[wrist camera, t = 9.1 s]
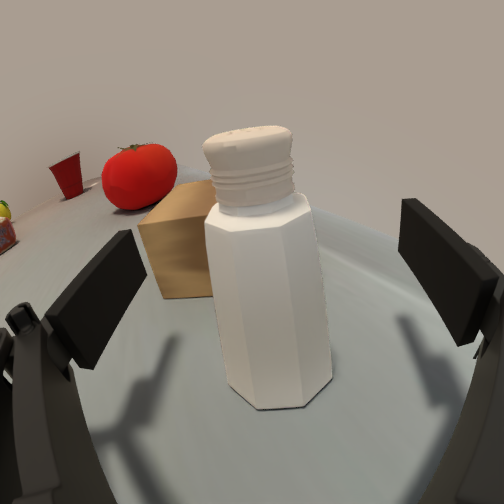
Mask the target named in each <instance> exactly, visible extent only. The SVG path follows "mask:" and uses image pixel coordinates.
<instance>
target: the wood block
mask: <svg viewBox="0 0 504 504" xmlns="http://www.w3.org/2000/svg"><path fill="white" fill-rule="evenodd" d="M212 182H213V181H212V180H211V179H210V180H204V181H197V182H191V183H186V184H180V185H177V186H176V187H175V188H174V189H173V190H172V191H171V192H170V193H169V194H168V195H167V196H166V197H165V198H164V199H163V200H162V201H161V202H160V203H158V204H157V205H156V206H155V207H154V208H153V209H152V210H151V211H150V212H149V213H148V214H147V216H146V217H145V218H144V219H143V220H142V221H141V222H140V223H139V224H138V225H137V226H138V229H139V232H140V235H141V238H142V241H143V244H144V247H145V250H146V253H147V256H148V259H149V262H150V264H151V267H152V270H153V273H154V275H155V278H156V281H157V283H158V286H159V289H160V291H161V294H162V296H163V298H164V299H166V298H187V297H205V296H213V291H212V285H211V278H210V271H209V264H208V256H207V249H206V239H205V225H204V222H205V220H206V218H207V216H208V214H209V212H210V210H211V208H212V207H213V206H214V205H215V204H216V203H218V202H217V201H216V197H215V195H216V189H215V187H214V186H212Z"/></svg>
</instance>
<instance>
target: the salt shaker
mask: <svg viewBox="0 0 504 504" xmlns="http://www.w3.org/2000/svg"><path fill="white" fill-rule="evenodd" d="M291 146H292V133H291V132H290V131H289V130H288V129H286V128H283V127H280V126H261V127H252V128H245V129H239V130H233V131H228V132H224V133H220V134H217V135H213V136H212V137H211V138H209V139H208V140H206V141H205V142H204V144H203V146H202V147H203V151H204V154H205V156H206V158H207V160H208V162H209V164H210V166H211V169H210V171H209V173H210V174H211V175H212V176H211V177H210V178H211V180H212V181H213V182H212V186H214V187H215V189H216V195H215V197H216V201H217V202H218V203H216V204H215V205H214V206H213V207H212V208H211V210H210V212H209V214H208V216H207V218H206V220H205V222H204V225H205V239H206V249H207V256H208V264H209V271H210V278H211V285H212V291H213V298H214V304H215V311H216V317H217V323H218V329H219V335H220V341H221V347H222V353H223V358H224V364H225V369H226V375H227V380H228V385H229V386H231V387H232V388H233V389H234V390H235V391H236V392H237V393H239V394H240V395H241V396H242V397H243V398H244V399H245V400H247V401H248V402H249V403H250V404H251V405H253V406H254V407H255V408H256V409H273V408H290V407H302V406H305V405H306V404H307V403H308V402H309V401H310V400H311V399H312V398H313V397H314V396H315V395H316V394H317V393H318V392H319V391H320V390H321V389H322V388H323V387H324V386H325V385H326V384H327V383H328V382H329V381H330V380H331V379H332V378H333V376H332V363H331V351H330V340H329V330H328V320H327V311H326V302H325V294H324V286H323V278H322V271H321V264H320V257H319V250H318V244H317V237H316V231H315V227H314V222H313V218H312V212H311V209H310V206H309V203H308V201H307V198H306V196H305V195H303V194H301V193H296V192H294V190H295V186H294V183H293V182H292V175H293V174H294V170H293V169H292V168H293V167H294V166H293V164H292V161H293V159H292V158H291V157H290V152H291Z"/></svg>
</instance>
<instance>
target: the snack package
mask: <svg viewBox="0 0 504 504" xmlns="http://www.w3.org/2000/svg"><path fill="white" fill-rule="evenodd" d="M15 241H16V234H15V231H14V228H13V226H12V223H11V221H10V219H9V218H7V217H0V254H2V253H3V252H5V251H6V250H8V249H9V248H10V247H12V246H13V245H14V243H15Z"/></svg>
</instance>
